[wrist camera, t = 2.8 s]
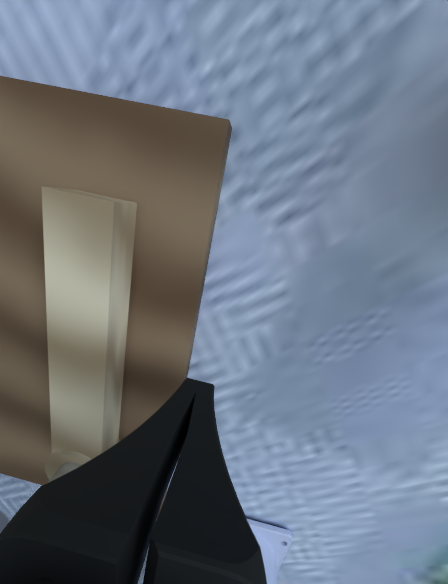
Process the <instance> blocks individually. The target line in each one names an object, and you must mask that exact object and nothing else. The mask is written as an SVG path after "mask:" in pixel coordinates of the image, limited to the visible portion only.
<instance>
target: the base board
mask: <svg viewBox="0 0 448 584" xmlns="http://www.w3.org/2000/svg"><path fill="white" fill-rule="evenodd" d="M231 131H232V127H231V124H230V121H229V120H228V119H222V118H217V117H212V116H207V115H202V114H196V113H191V112H186V111H181V110H176V109H170V108H165V107H160V106H155V105H149V104H144V103H139V102H134V101H129V100H123V99H118V98H113V97H108V96H102V95H97V94H92V93H87V92H82V91H76V90H71V89H66V88H61V87H56V86H50V85H45V84H40V83H35V82H29V81H24V80H19V79H14V78H9V77H3V76H0V473H2V474H5V475H9V476H12V477H16V478H19V479H23V480H26V481H30V482H33V483H37V484H40V485H45V484H47V483H48V482H49V478H48V477H47V474H46V472H45V461H46V459H47V458H48V456H49V455H50V454H51V453H52V443H51V417H50V391H49V365H48V340H47V314H46V288H45V262H44V236H43V210H42V186H44V187H53V188H63V189H73V190H79V191H84V192H88V193H93V194H98V195H102V196H107V197H112V198H116V199H121V200H126V201H130V202H135V203H137V210H136V223H135V235H134V248H133V261H132V273H131V286H130V299H129V311H128V324H127V337H126V349H125V362H124V375H123V387H122V400H121V413H120V425H119V439H120V440H122V439H123V438H125V437H126V436H128V435H129V434H130V433H131V432H133V431H134V430H135V429H137V428H138V427H139V426H140V425H141V424H143V423H144V422H145V421H146V420H147V419H148V418H150V417H151V416H152V415H153V414H154V413H155V412H156V411H157V410H158V409H159V408H160V407H161V406H162V405H163V404H164V403H165V402H166V401H167V400H168V399H169V398H170V397H171V396H172V395H173V394H174V393H175V391H176V390H177V389H178V388H179V387H180V385H181V384H182V383H183V381H184V380H185V379H187V375H188V370H189V364H190V359H191V353H192V347H193V342H194V336H195V331H196V325H197V320H198V314H199V309H200V303H201V297H202V292H203V286H204V281H205V275H206V270H207V264H208V259H209V253H210V247H211V242H212V236H213V231H214V225H215V220H216V214H217V209H218V203H219V197H220V192H221V186H222V181H223V175H224V170H225V164H226V159H227V153H228V147H229V142H230V136H231ZM166 492H167V489H166ZM166 492H165V495H164V498H163V501H162V504H161V507H162V505H163V502H164V499H165V497H166ZM161 507H160V510H161ZM159 513H160V511H159ZM158 515H159V514H158ZM157 518H158V517H157Z"/></svg>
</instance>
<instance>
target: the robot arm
mask: <svg viewBox="0 0 448 584" xmlns="http://www.w3.org/2000/svg"><path fill="white" fill-rule="evenodd" d="M179 456H180V457H179ZM178 459H179V460H178ZM177 461H178V463H177ZM176 464H177V466H176ZM175 466H176V468H175ZM174 469H175V471H174ZM173 471H174V474H173ZM172 474H173V477H172V480H171V483H170V485H169V488H168V491H167V494H166V497H165V499H164V502H163V505H162V507H161V504H162V501H163V498H164V495H165V492H166V489H167V487H168V484H169V481H170V479H171V476H172ZM160 507H161V510H160ZM159 511H160V513H159ZM158 514H159V515H158ZM157 517H158V518H157ZM156 520H157V521H156ZM291 542H292V533H291V532H290V531H289V530H287V529H283V528H280V527H276V526H272V525H269V524H265V523H262V522H258V521H254V520H251V519H247V518H246V516H245V514H244V512H243V509H242V507H241V505H240V502H239V500H238V497H237V495H236V492H235V489H234V487H233V484H232V481H231V479H230V476H229V473H228V470H227V467H226V464H225V460H224V457H223V453H222V449H221V445H220V441H219V436H218V431H217V425H216V418H215V411H214V385H213V384H210V383H206V382H202V381H198V380H194V379H190V378H187V379H185V380H184V381H183V383H182V384H181V385H180V387H179V388H178V389H177V390H176V391H175V393H174V394H173V395H172V396H171V397H170V398H169V399H168V400H167V401H166V402H165V403H164V404H163V405H162V406H161V407H160V408H159V409H158V410H157V411H156V412H155V413H154V414H153V415H152V416H151V417H150V418H148V419H147V420H146V421H145V422H144V423H143V424H141V425H140V426H139V427H138V428H137V429H135V430H134V431H133V432H131V433H130V434H129V435H128V436H126V437H125V438H123V439H122V440H121V441H119V442H118V443H116V444H115V445H114V446H112V447H111V448H109V449H108V450H106V451H104V452H103V453H101V454H100V455H98V456H96V457H95V458H93V459H91V460H90V461H88V462H86V463H85V464H83V465H81V466H79V467H78V468H76V469H74V470H72V471H70V472H68V473H66V474H64V475H62V476H60V477H58V478H57V479H55V480H53V481H51V482H49V483H47V484H45V485H43V486H41V487H40V488H39V489H38V490H37V491H36V492H35V493H34V494H33V495H32V496H31V497H30V498H29V500H28V501H27V502H26V503H25V504H24V505H23V506H22V507H21V508H20V509H19V511H18V512H17V513H16V514H15V516H14V517H13V518H12V519H11V521H10V522H9V523H8V525H7V526H6V527H5V528H4V530H3V531H2V532H1V534H0V584H138V580H139V577H140V573H141V570H142V567H143V563H144V560H145V557H146V553H147V550H148V547H149V550H148V556H147V562H146V569H145V575H144V581H143V584H277V572H278V570H279V568H280V566H281V564H282V562H283V559H284V557H285V555H286V553H287V551H288V549H289V547H290V544H291ZM149 543H150V544H149Z"/></svg>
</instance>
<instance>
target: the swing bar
mask: <svg viewBox="0 0 448 584" xmlns="http://www.w3.org/2000/svg"><path fill="white" fill-rule="evenodd" d="M42 210H43V236H44V262H45V288H46V314H47V340H48V365H49V391H50V417H51V443H52V453H51V454H50V455H49V456H48V458H47V459H46V461H45V472H46V474H47V477H48V478H49V482H51V481H53V480H55V479H57V478H58V477H60V476H62V475H64V474H66V473H68V472H70V471H72V470H74V469H76V468H78V467H79V466H81V465H83V464H85V463H86V462H88V461H90V460H91V459H93V458H95V457H96V456H98V455H100V454H101V453H103V452H104V451H106V450H108V449H109V448H111V447H112V446H114V445H115V444H116V443H118V442H119V441H121V440H120V439H119V425H120V413H121V400H122V387H123V375H124V362H125V349H126V337H127V324H128V311H129V299H130V286H131V273H132V261H133V248H134V235H135V223H136V210H137V203H135V202H130V201H126V200H121V199H116V198H112V197H107V196H102V195H98V194H93V193H88V192H84V191H79V190H73V189H63V188H53V187H44V186H42ZM49 482H48V483H49Z"/></svg>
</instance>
